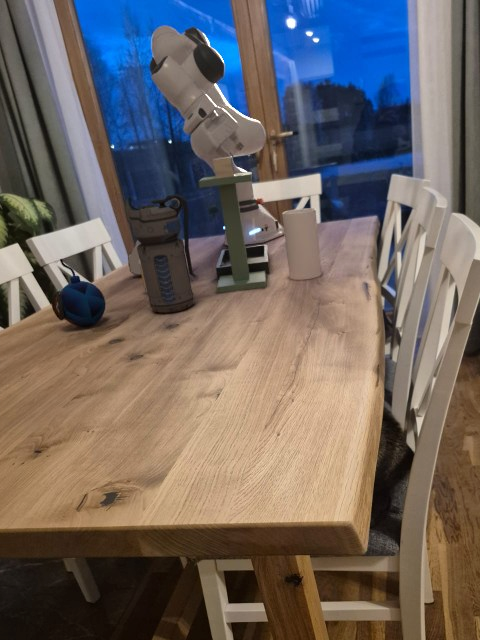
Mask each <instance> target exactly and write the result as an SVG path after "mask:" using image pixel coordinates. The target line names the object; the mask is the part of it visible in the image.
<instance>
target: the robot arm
mask: <svg viewBox="0 0 480 640" xmlns="http://www.w3.org/2000/svg"><path fill="white" fill-rule="evenodd" d="M151 35H152V36H151V41H150V48H151V53H152V55H151V60H150V61H149V67H148V68H149V72H150V79H151V80H152V81H153V83H154V84H155V86H156V87H157V89H158V90H159V92H160V93H161V94H162V95H163V96H164V99H165V100H166V102H167V103H169V105H170V106H171V107H172V108H173V109H174V110H175V111H177V112H179V114H180V116H181V117H182V118H183V119H184V124H183V128H182V131H183V132H184V133H185V134H186V136H190V145H191V149H192V151H193V153H194V154H195V155H196V156H197V158H199V159H200V160H202V161H204V162H205V163H206V164H207V165H208V166H209V167H210V168H211V170H212V171H213V173H214V174H215V170H214V164H213V160H214V159H216V158H223V157H231V156H232V159H233V160H234V158H235V157H241V156H249V155H252V154H255V153H257V152H259V151H262V150H263V149H264V147H265V144H266V141H267V139H266V138H267V134H266V130H265V128H264V125H263V124H262V123H261V121H259V120H257V119H254V118H252V117H251V118H250V117H248V116H246V115H244V114H242V113H241V112H239V111H238V110H237V109H235V108H234V107H232V105H231V104H230V103H229V102H228V101H227V99H226V97H225V96H224V95H223V93H222V91H221V89H220V88H219V86H218V85H217V83H219V82H220V81H221V80H222V79H223V78H225V72H226V64H225V62H224V60H223V58H222V56H221V55H220V53H219V52H218V51H217V50H216V49H215V48H213V47H212V46H211V45H210V41H209V39H208V38H207V36H206V34H205V33H204V32H203V31H201V30H200V29H198V28H197V27H195V26H191V27H188V28H186V29H185V30H184V32H182V33H180V32H179V31H177V30H176V29H175V28H173V27H172V26H169V25H160V26H158V27H157V28H155V30H154V31H153V33H152V34H151ZM233 166H234V172H235V174H237V173H245V172H248V171H247V170H245V169H243V168H241V167H238V166H237V165H236V163H235V162H234V161H233ZM252 181H253V180H252ZM252 181H250V182H242V183H236V187H237V194H238V200H239V207H240V214H241V220H242V227H243V234H244V240H245V246H246V245H253V244H254V245H255V244H263V243H265V242H269V241H271V240H273V239H277V238H278V237H281V236H285V233H284V231H282V230H279V229H280V227H279V220H278V219H274V218H273V217H272V216H271V215H269V214H267V213H266V212H265V211H264V210H262V209H261V208H260V206H259V205H263V204H264V200H263V198H259V197H258V198H257V199H256V198H255V195H254V188H253V182H252ZM223 230H224V243H223V244H224V246H228V243H227V237H226V231H225V226H223Z"/></svg>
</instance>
